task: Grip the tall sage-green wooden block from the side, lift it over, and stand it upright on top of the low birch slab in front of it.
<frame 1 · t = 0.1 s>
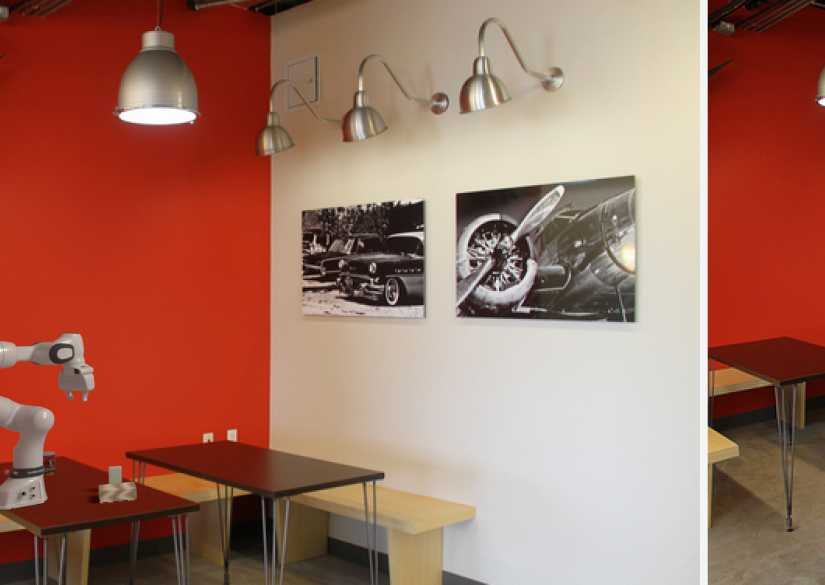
hand: (77, 400, 349), 39 cm above the table, tool pointing down, fingers open, 8 cm apart
sage block: (115, 490, 345), on the table
birch slab: (117, 498, 331), on the table
canned food: (46, 476, 379), on the table
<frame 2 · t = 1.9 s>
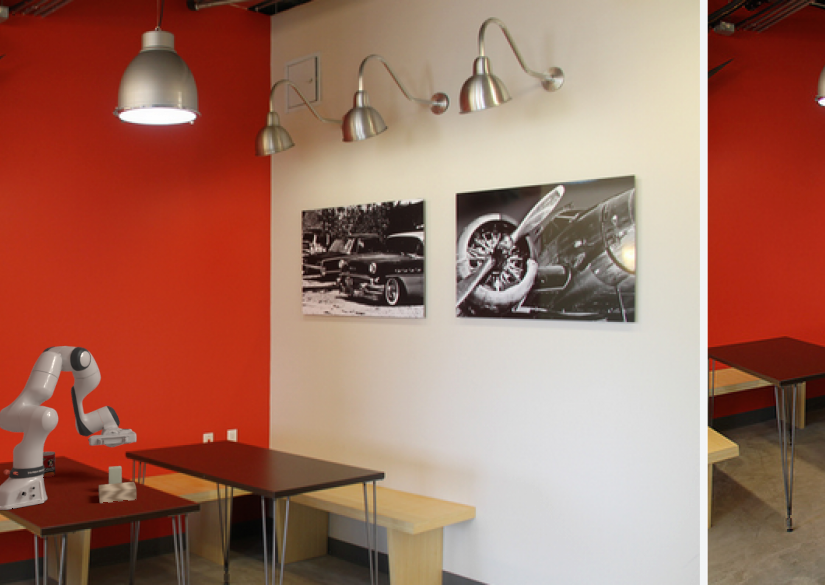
hand: (113, 441, 357), 19 cm above the table, tool horizontal, fingers open, 8 cm apart
nothing on the table moved.
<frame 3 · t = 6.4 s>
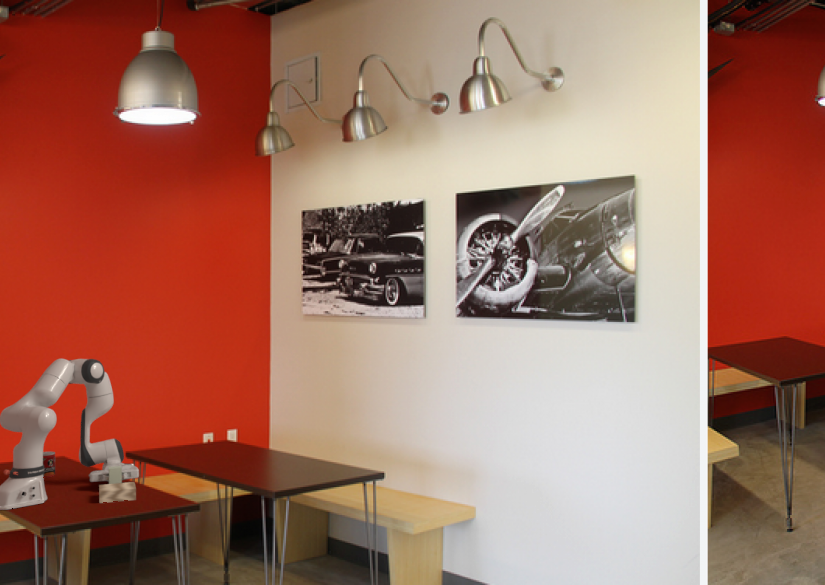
hand: (115, 478, 344), 6 cm above the table, tool horizontal, fingers closed on sage block, 5 cm apart
sage block: (115, 490, 345), on the table, touching gripper
everything else where it was.
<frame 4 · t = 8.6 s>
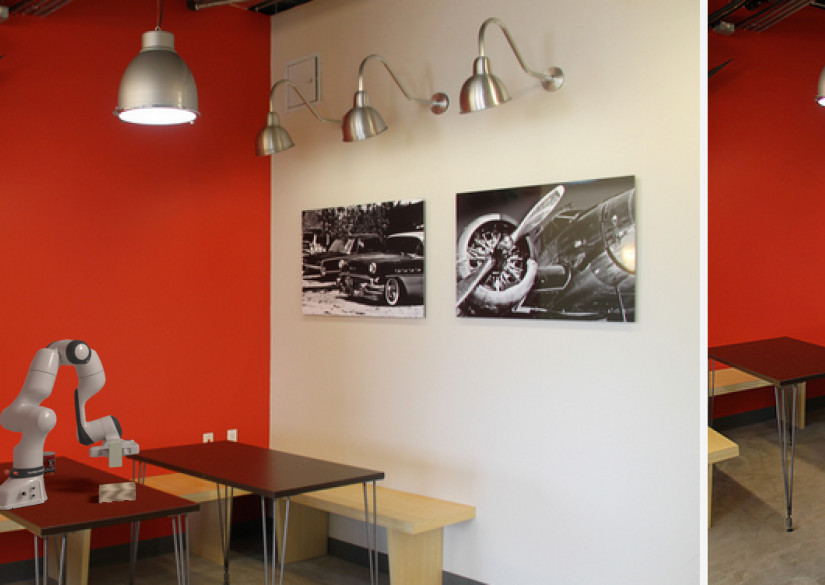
hand: (115, 453, 341), 17 cm above the table, tool horizontal, fingers closed on sage block, 5 cm apart
sage block: (115, 465, 342), point 11 cm above the table, touching gripper
everything else where it was.
when the fingers open (12 cm above the table, at t = 11.0 s): sage block drops 2 cm, resting on birch slab.
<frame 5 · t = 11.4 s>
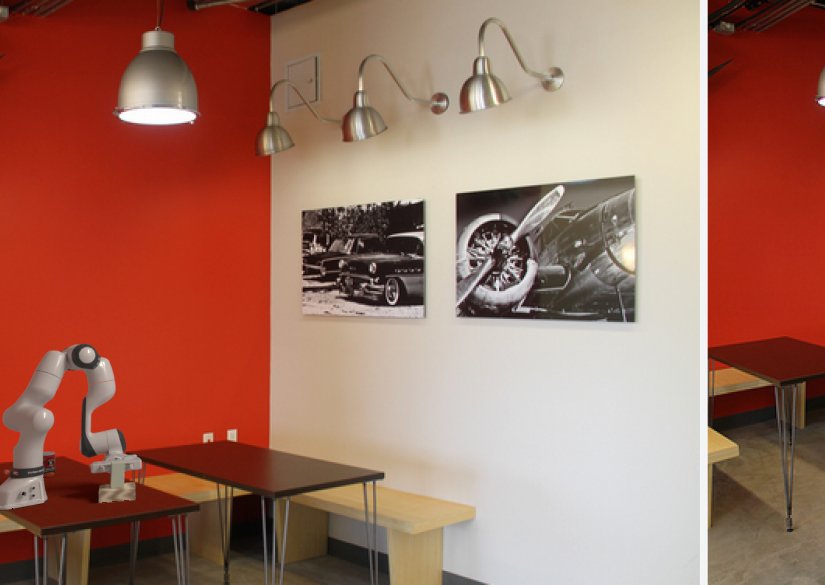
hand: (117, 469, 331), 12 cm above the table, tool horizontal, fingers open, 8 cm apart
sage block: (117, 486, 332), point 5 cm above the table, touching birch slab
birch slab: (117, 498, 331), on the table, touching sage block
everything else where it was.
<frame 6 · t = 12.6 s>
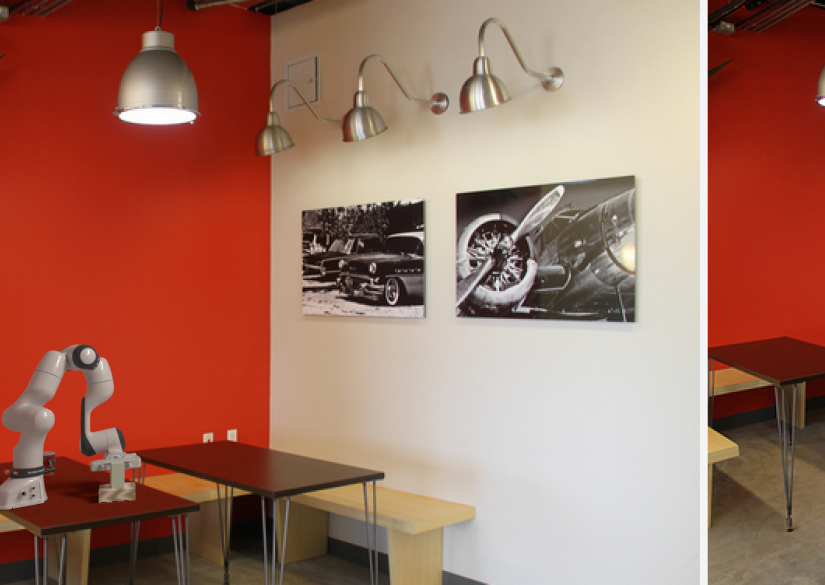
hand: (116, 467, 334), 12 cm above the table, tool horizontal, fingers open, 8 cm apart
sage block: (117, 486, 331), point 5 cm above the table
birch slab: (117, 498, 331), on the table
everything else where it was.
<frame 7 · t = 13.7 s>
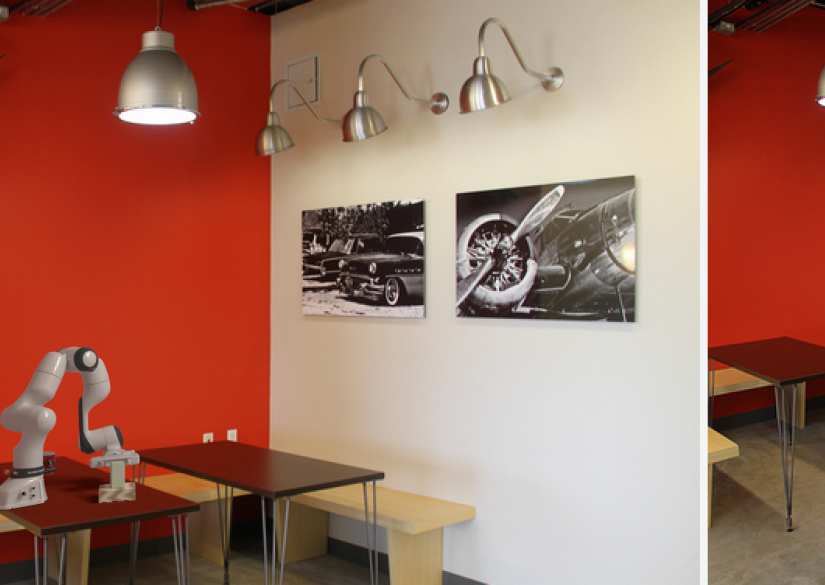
hand: (115, 463, 342), 12 cm above the table, tool horizontal, fingers open, 8 cm apart
sage block: (117, 486, 332), point 5 cm above the table, touching birch slab
birch slab: (117, 498, 331), on the table, touching sage block
everything else where it was.
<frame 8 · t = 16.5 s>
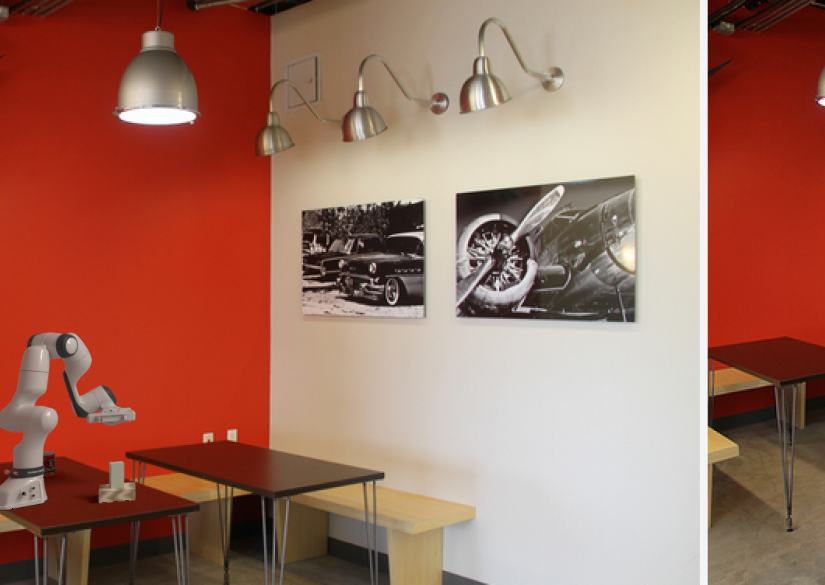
hand: (112, 419, 352), 30 cm above the table, tool horizontal, fingers open, 8 cm apart
nothing on the table moved.
at the end: sage block inside the target area on the birch slab (0.3 cm from its centre), point 5.0 cm above the birch slab's base; sage block tilted 1°; the gripper is holding nothing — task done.
